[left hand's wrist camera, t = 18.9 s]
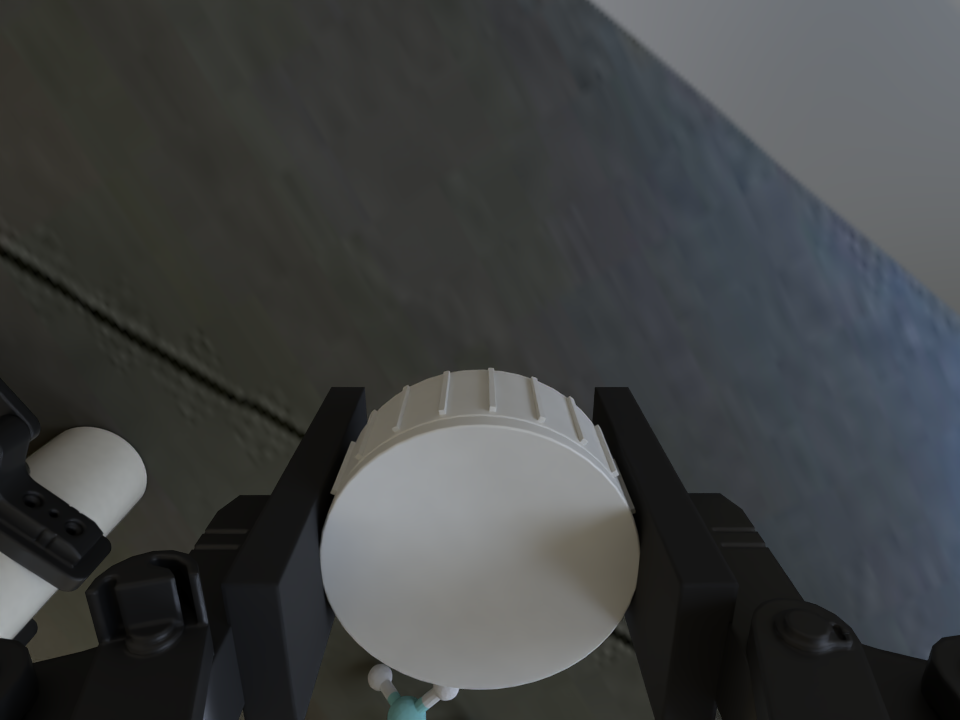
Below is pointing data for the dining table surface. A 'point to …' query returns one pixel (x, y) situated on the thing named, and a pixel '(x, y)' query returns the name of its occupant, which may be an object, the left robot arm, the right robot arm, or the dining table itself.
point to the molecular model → (406, 710)
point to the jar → (73, 505)
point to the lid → (479, 533)
